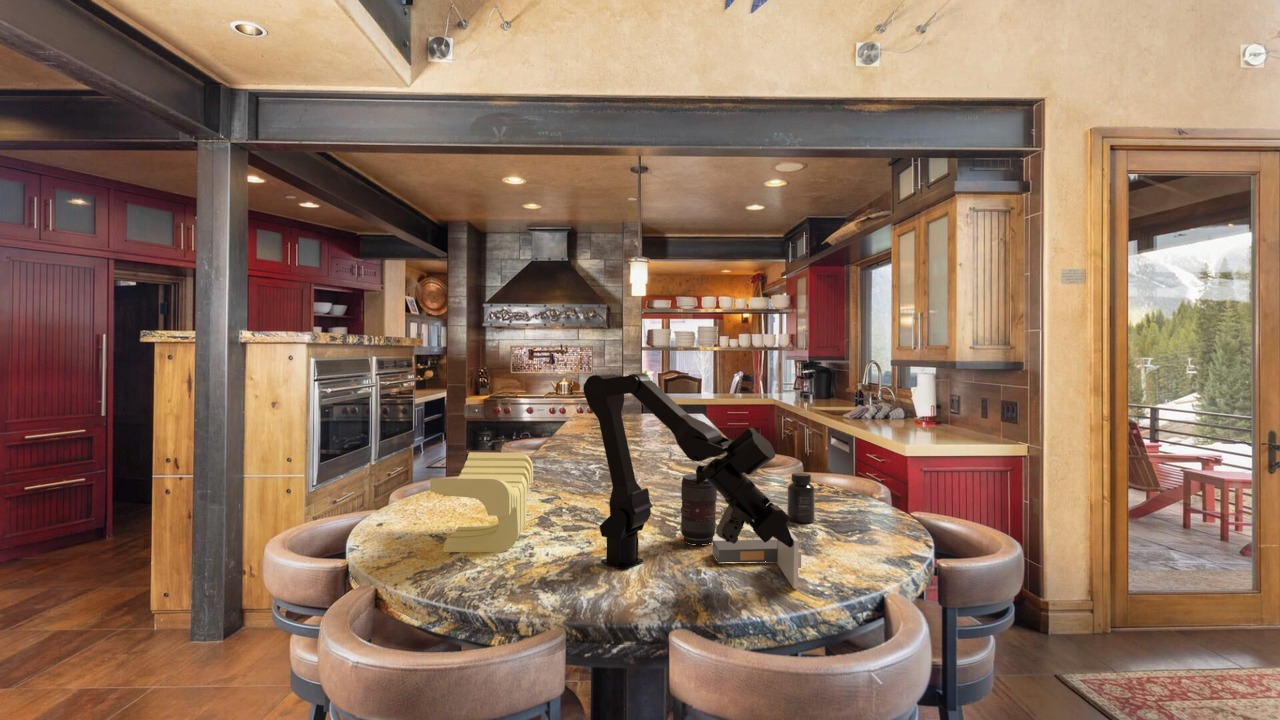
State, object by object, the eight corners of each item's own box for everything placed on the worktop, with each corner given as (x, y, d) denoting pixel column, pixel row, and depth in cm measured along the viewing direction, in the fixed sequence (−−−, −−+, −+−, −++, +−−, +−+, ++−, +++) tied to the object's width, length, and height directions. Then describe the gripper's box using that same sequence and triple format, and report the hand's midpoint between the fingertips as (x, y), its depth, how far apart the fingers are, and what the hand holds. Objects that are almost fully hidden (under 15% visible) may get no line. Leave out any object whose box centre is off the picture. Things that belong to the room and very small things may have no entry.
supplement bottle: (817, 519, 164) (818, 473, 163) (809, 525, 158) (810, 478, 158) (792, 515, 167) (792, 470, 167) (783, 521, 162) (784, 474, 161)
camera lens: (714, 548, 140) (715, 481, 139) (678, 546, 141) (679, 479, 141) (717, 537, 148) (718, 474, 147) (683, 535, 149) (684, 472, 149)
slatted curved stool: (509, 566, 128) (509, 478, 127) (430, 565, 128) (430, 478, 127) (532, 523, 158) (533, 452, 157) (469, 523, 158) (469, 452, 157)
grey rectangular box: (718, 564, 130) (719, 550, 129) (712, 554, 136) (712, 540, 136) (790, 562, 131) (790, 548, 131) (781, 552, 137) (781, 539, 137)
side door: (801, 589, 117) (801, 539, 116) (793, 589, 117) (794, 539, 116) (783, 563, 130) (784, 518, 130) (776, 563, 130) (777, 518, 130)
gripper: (695, 503, 127) (748, 558, 127) (712, 530, 108) (773, 593, 109) (734, 465, 127) (787, 519, 128) (758, 484, 108) (819, 548, 109)
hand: (790, 544), depth 118 cm, fingers closed, pressing on side door
